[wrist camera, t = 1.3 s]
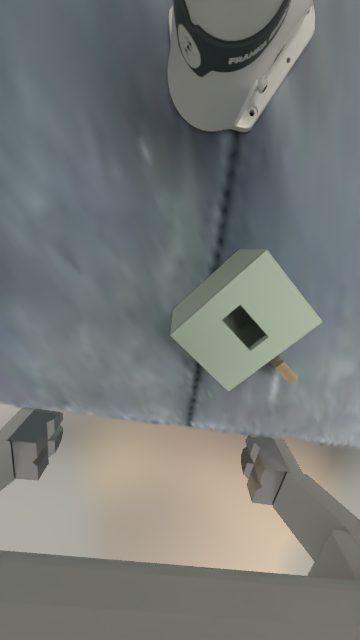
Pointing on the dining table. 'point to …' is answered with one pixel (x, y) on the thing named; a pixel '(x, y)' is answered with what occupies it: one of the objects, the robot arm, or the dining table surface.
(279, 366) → the wooden domino
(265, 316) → the slot box
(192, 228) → the dining table surface
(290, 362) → the dining table surface
